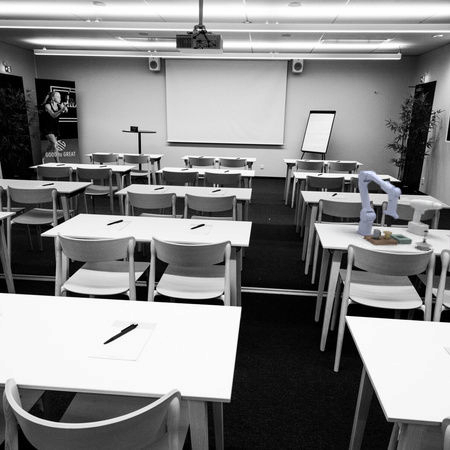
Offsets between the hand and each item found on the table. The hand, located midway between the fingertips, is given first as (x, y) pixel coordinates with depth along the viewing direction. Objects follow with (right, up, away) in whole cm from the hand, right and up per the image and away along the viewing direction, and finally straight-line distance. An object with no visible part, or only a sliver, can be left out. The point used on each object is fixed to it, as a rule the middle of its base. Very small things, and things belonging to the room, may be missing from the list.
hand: (388, 226), depth 264 cm
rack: (+9, -10, +5) cm, 14 cm away
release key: (0, -8, +2) cm, 8 cm away
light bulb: (+18, -14, -8) cm, 25 cm away
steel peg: (-8, -10, +1) cm, 13 cm away
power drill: (+32, -6, +24) cm, 41 cm away
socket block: (-5, -10, +2) cm, 11 cm away
